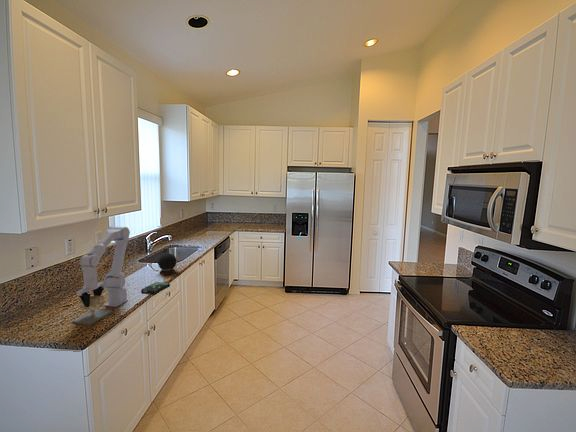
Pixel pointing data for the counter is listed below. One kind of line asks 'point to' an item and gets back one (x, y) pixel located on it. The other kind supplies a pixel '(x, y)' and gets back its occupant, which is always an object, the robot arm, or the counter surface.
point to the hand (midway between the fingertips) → (92, 304)
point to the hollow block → (93, 302)
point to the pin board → (92, 316)
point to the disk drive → (155, 288)
